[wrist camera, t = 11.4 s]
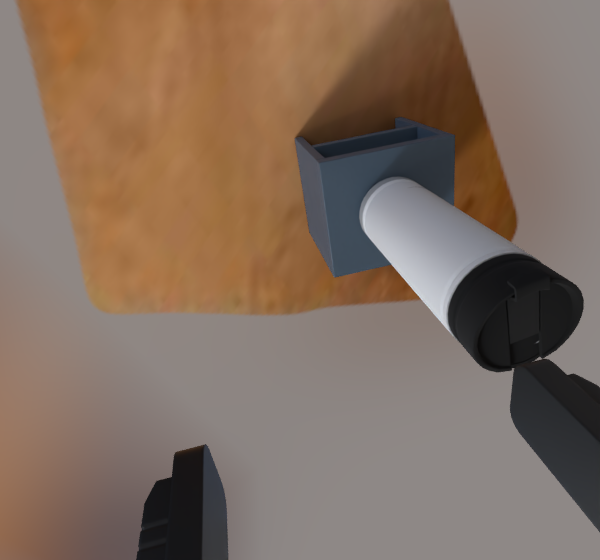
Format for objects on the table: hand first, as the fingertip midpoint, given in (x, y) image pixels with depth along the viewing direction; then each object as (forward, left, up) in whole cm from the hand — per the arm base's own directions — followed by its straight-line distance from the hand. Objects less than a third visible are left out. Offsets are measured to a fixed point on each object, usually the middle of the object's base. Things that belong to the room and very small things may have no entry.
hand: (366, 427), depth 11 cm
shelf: (+6, +11, -40) cm, 42 cm away
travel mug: (+6, +11, -28) cm, 31 cm away
